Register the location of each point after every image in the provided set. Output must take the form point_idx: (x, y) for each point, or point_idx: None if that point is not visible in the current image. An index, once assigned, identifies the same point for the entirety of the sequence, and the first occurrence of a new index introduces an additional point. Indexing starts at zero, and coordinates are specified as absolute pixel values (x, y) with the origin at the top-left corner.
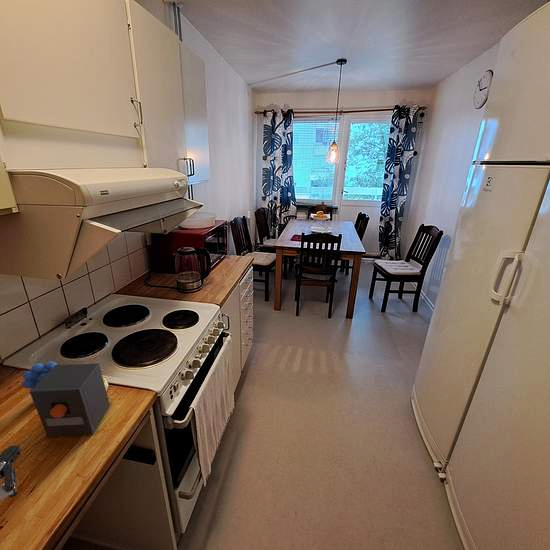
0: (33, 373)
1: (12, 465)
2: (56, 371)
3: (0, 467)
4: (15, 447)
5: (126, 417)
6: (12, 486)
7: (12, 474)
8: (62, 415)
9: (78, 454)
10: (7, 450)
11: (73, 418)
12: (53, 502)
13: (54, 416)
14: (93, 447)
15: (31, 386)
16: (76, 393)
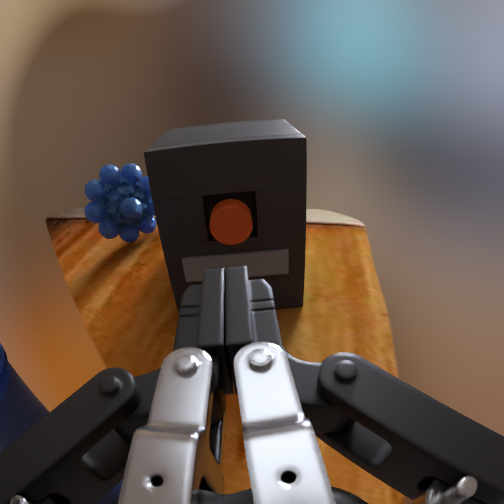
0: (103, 185)
1: (361, 361)
2: (184, 131)
3: (281, 383)
4: (247, 275)
5: (352, 269)
6: None
7: (447, 409)
8: (248, 234)
9: (305, 352)
10: (215, 287)
11: (265, 253)
12: (344, 472)
13: (222, 238)
14: (333, 333)
15: (101, 216)
16: (294, 154)
